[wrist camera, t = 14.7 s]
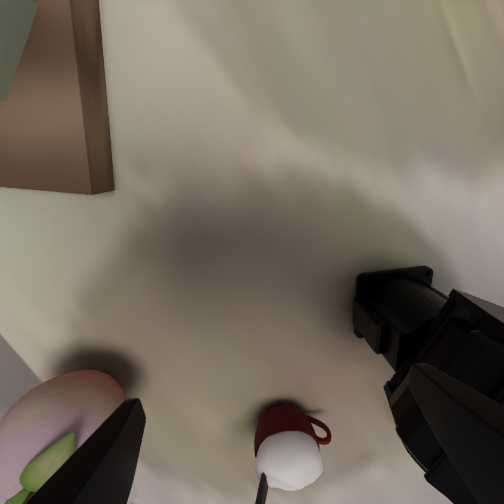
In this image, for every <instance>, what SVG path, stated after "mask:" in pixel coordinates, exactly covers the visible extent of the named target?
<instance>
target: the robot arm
mask: <svg viewBox="0 0 504 504" xmlns="http://www.w3.org/2000/svg"><path fill="white" fill-rule="evenodd" d="M426 271H427V273H426V274H425V272H426ZM432 277H433V270H432V269H431V268H429V267H427V266H424V267H415V268H406V269H397V270H388V271H380V272H371V273H362V274H360V275H359V276H358V277H357V284H356V297H355V298H354V303H353V323H354V334H355V335H356V336H357V337H358V338H364V339H365V340H366V341H367V343H368V344H369V345H370V347H371V348H372V349H373V351H374V352H375V353H376V354H382V355H383V356H384V358H385V359H386V360H387V361H388V363H389V364H390V365H391V367H392V368H393V369H394V371H395V372H396V373H395V374H394V375H393V377H392V378H391V380H390V381H387V382H386V384H385V385H384V390H385V393H386V396H387V399H388V402H389V405H390V409H391V412H392V415H393V418H394V421H395V424H396V432H397V434H398V436H399V438H400V439H401V441H402V443H403V445H404V446H405V448H406V450H407V452H408V453H409V454H410V455H411V457H412V458H413V459H414V461H415V462H416V463H417V464H418V465H419V466H420V467H421V468H422V470H424V471H425V472H426V473H425V474H424V477H425V479H426V481H427V482H428V483H429V484H431V485H432V486H433V487H434V488H436V489H437V490H438V491H439V492H441V493H442V494H443V495H444V496H446V497H447V498H448V499H449V500H450V501H451V502H452V503H453V504H504V307H502V306H499V305H496V304H494V303H491V302H488V301H486V300H483V299H480V298H478V297H475V296H472V295H470V294H467V293H464V292H462V291H459V290H456V289H453V290H452V291H451V292H450V294H449V295H448V296H450V297H447V296H446V295H444V294H443V293H441V292H439V291H438V290H436V289H435V288H433V287H431V283H432ZM363 278H365V280H364V281H362V279H363ZM359 332H360V333H359ZM145 423H146V416H145V413H144V410H143V407H142V404H141V401H140V399H139V398H132V399H126V400H125V401H123V402H122V403H121V404H120V405H119V407H118V408H117V409H116V410H115V411H114V412H113V413H112V414H111V415H110V416H109V417H108V418H107V419H106V420H105V421H104V422H103V423H102V424H101V425H100V426H99V427H98V428H97V429H96V430H95V431H94V432H93V433H92V434H91V435H90V437H89V438H88V439H87V440H86V441H85V442H84V443H83V444H82V445H81V446H80V447H79V448H78V449H77V450H76V451H75V452H74V453H73V454H72V455H71V456H70V457H69V458H68V459H67V460H66V461H65V462H64V463H63V464H62V466H61V467H60V468H59V469H58V470H57V471H56V472H55V473H54V474H53V475H52V476H51V477H50V478H49V479H48V480H47V481H46V482H45V483H44V484H43V485H42V486H41V487H40V488H39V489H38V490H37V491H36V492H35V493H34V494H33V496H32V497H31V498H30V499H29V500H28V501H27V502H26V503H25V504H127V501H128V497H129V494H130V491H131V487H132V483H133V480H134V475H135V471H136V466H137V461H138V457H139V452H140V447H141V442H142V437H143V433H144V428H145Z"/></svg>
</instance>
